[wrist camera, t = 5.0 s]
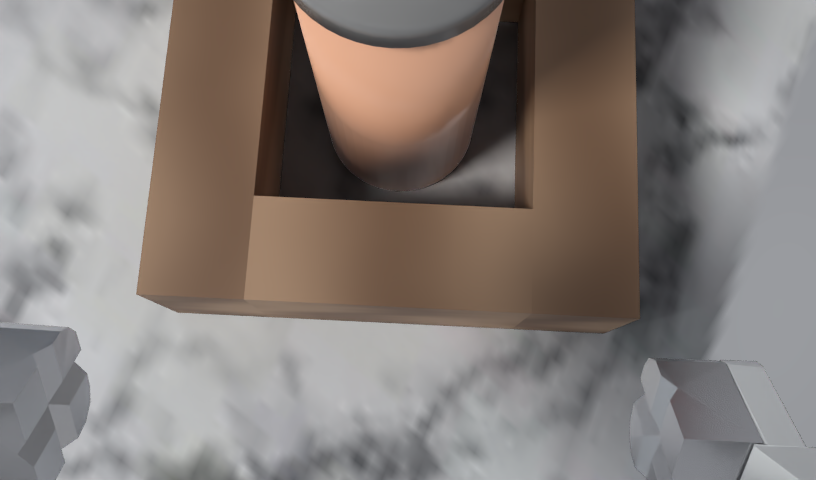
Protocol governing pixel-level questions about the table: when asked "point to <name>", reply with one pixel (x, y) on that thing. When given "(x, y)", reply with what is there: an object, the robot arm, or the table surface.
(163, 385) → the table surface
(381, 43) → the terracotta jar
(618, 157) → the walnut holder
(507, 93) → the table surface
